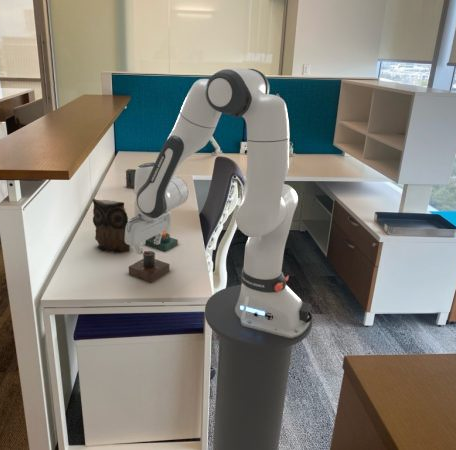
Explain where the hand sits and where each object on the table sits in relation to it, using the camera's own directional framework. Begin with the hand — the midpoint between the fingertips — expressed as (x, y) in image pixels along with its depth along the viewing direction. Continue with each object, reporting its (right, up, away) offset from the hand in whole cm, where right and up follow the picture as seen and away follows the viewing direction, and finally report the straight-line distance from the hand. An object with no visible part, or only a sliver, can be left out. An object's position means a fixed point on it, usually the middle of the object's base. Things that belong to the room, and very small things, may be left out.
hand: (148, 248), depth 152 cm
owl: (-15, -1, +22) cm, 27 cm away
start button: (+2, +3, +24) cm, 24 cm away
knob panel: (0, -9, +3) cm, 9 cm away
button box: (+2, 0, +25) cm, 25 cm away
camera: (-16, +28, +92) cm, 98 cm away
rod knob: (0, -6, +2) cm, 6 cm away
